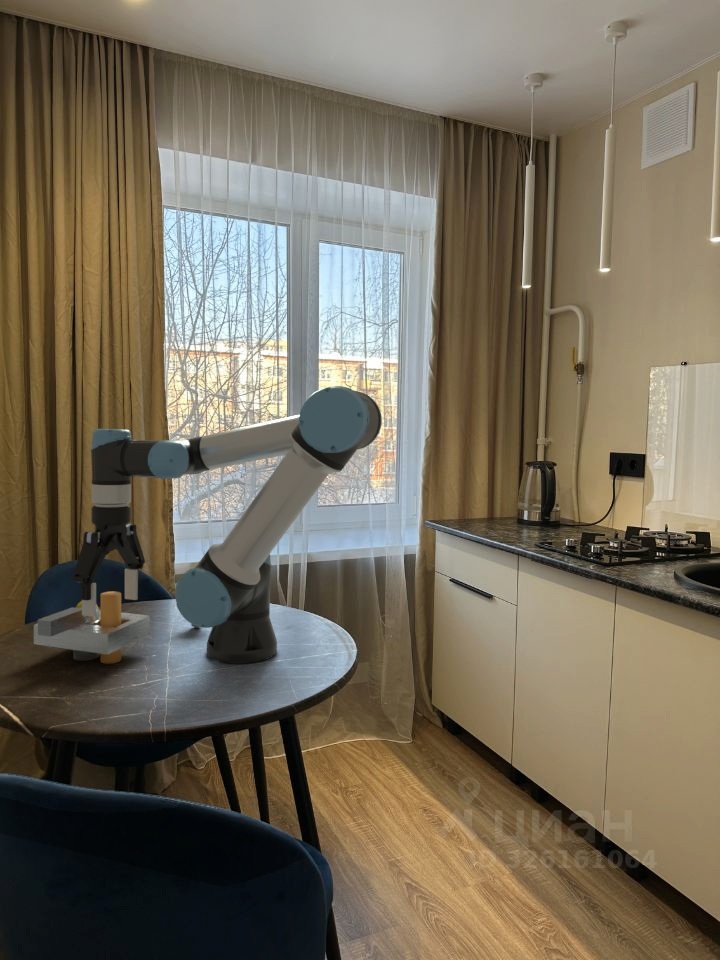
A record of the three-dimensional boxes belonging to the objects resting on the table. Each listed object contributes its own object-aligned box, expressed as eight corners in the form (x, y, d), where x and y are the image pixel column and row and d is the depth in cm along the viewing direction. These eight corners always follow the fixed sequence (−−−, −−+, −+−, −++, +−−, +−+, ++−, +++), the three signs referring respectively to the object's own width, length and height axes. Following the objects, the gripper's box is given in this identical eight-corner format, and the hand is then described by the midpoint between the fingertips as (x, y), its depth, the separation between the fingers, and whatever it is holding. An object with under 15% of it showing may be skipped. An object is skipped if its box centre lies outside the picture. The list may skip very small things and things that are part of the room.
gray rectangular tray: (149, 652, 142) (149, 602, 141) (90, 683, 124) (90, 626, 123) (81, 642, 147) (80, 594, 146) (14, 671, 129) (14, 616, 128)
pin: (108, 655, 139) (108, 590, 138) (125, 658, 138) (125, 592, 137) (96, 662, 135) (96, 595, 134) (113, 664, 134) (113, 597, 133)
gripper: (132, 498, 147) (131, 591, 149) (51, 510, 123) (52, 621, 125) (161, 500, 145) (161, 594, 147) (85, 512, 121) (85, 625, 123)
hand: (111, 607), depth 136 cm, fingers open, 13 cm apart
